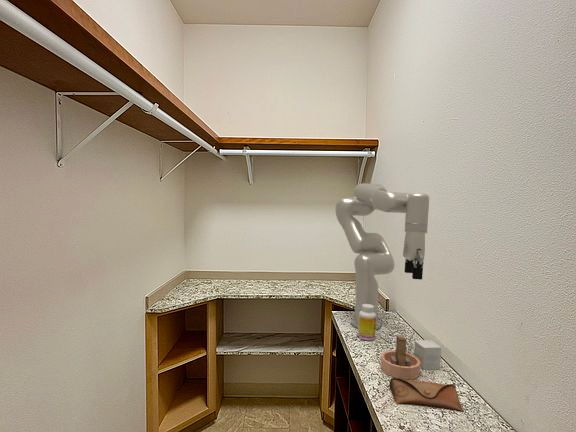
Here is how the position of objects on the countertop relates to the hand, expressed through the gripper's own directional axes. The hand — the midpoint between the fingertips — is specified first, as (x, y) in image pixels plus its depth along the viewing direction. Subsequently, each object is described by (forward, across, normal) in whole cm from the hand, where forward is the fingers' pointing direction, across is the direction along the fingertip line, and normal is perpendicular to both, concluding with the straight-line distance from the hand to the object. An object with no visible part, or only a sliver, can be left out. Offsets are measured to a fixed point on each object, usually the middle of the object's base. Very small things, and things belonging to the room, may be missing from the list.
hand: (412, 275), depth 119 cm
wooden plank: (+27, +15, -7) cm, 31 cm away
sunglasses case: (+28, +31, -4) cm, 41 cm away
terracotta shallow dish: (+27, +15, -7) cm, 32 cm away
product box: (+28, +10, +3) cm, 30 cm away
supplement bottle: (+28, -10, -13) cm, 33 cm away
